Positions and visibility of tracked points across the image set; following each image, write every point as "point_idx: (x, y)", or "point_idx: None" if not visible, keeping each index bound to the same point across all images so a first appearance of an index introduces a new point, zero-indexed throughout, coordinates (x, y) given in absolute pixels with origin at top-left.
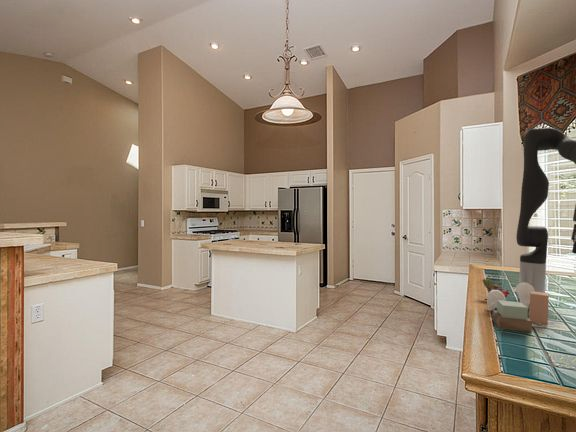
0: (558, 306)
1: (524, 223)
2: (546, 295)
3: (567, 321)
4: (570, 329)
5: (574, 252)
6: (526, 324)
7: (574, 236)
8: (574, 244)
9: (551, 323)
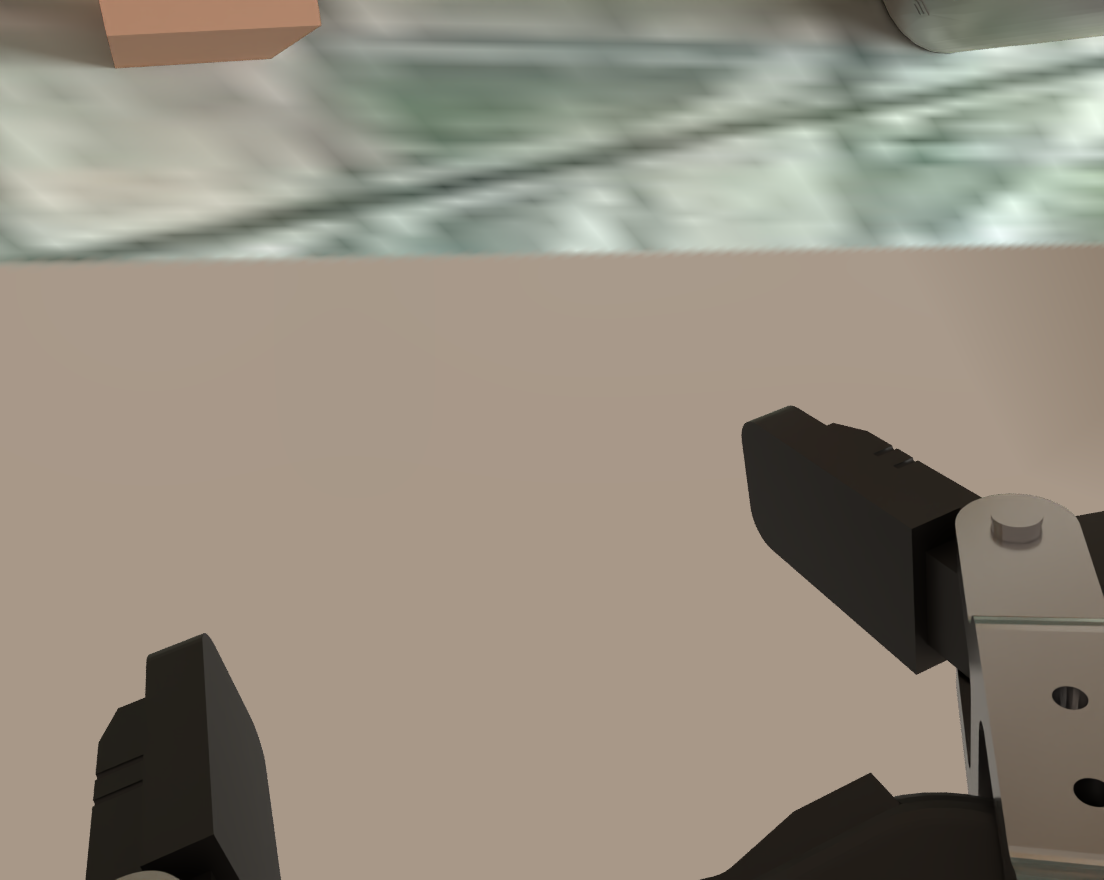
0: (882, 158)
1: None
2: (106, 9)
3: (396, 228)
4: (101, 254)
5: (753, 449)
6: None
7: (1013, 639)
8: (884, 513)
9: (187, 102)
